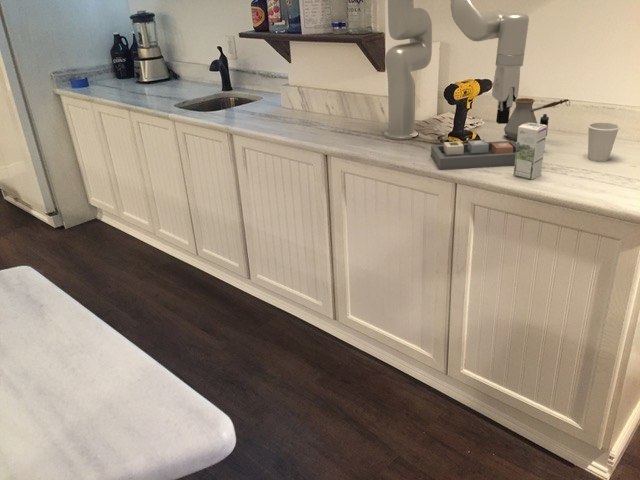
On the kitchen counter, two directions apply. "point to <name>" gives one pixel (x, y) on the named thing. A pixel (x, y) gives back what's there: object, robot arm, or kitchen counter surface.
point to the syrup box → (530, 150)
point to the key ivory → (453, 148)
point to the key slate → (478, 146)
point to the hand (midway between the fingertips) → (502, 122)
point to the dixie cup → (601, 140)
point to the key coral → (501, 148)
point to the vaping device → (544, 121)
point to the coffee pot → (524, 115)
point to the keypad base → (472, 157)
